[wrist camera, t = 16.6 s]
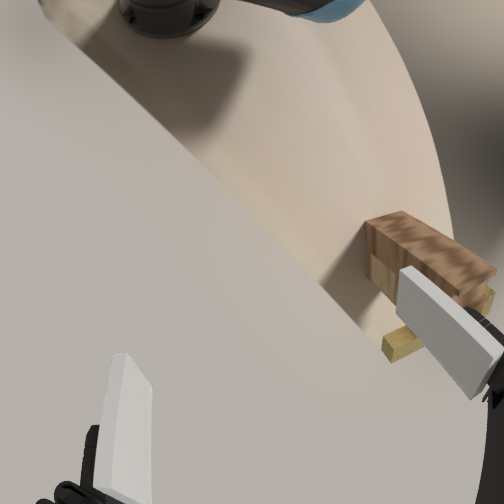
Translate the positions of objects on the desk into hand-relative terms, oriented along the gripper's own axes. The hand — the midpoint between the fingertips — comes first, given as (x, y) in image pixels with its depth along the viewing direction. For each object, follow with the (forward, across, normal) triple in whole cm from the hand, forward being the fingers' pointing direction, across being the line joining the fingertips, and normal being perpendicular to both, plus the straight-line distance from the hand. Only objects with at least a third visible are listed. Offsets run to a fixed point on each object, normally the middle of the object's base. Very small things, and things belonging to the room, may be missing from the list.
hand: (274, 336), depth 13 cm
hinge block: (+35, +29, -20) cm, 50 cm away
